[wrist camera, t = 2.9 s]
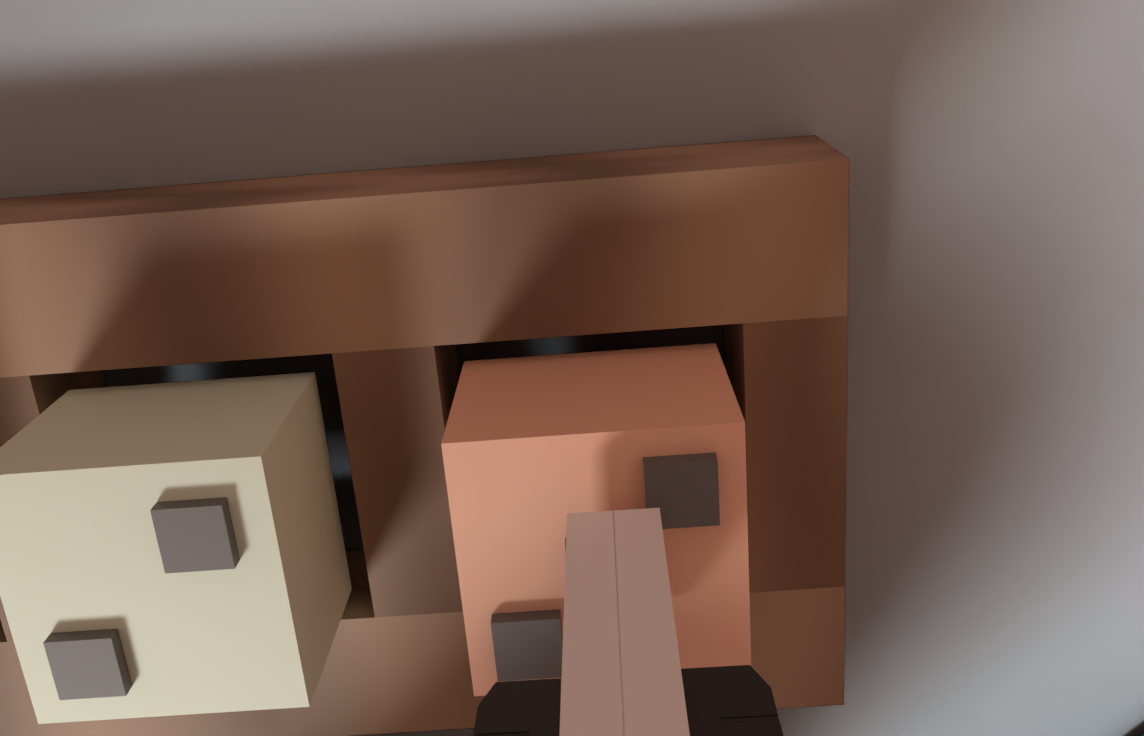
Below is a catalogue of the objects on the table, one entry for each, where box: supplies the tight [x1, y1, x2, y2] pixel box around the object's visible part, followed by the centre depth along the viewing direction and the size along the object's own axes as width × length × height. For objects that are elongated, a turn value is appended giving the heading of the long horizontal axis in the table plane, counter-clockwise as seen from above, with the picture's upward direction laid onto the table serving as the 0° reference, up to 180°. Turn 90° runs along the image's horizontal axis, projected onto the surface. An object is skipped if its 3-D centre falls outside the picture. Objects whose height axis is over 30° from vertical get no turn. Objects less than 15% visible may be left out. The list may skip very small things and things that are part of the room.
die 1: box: [0, 372, 352, 724], centre depth 21 cm, size 5×5×4 cm
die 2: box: [441, 343, 751, 696], centre depth 21 cm, size 5×5×4 cm
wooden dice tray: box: [0, 135, 849, 736], centre depth 24 cm, size 26×12×3 cm, turn 94°
